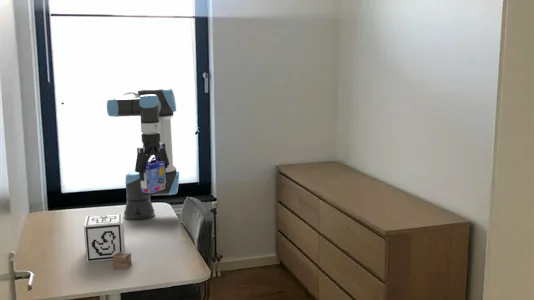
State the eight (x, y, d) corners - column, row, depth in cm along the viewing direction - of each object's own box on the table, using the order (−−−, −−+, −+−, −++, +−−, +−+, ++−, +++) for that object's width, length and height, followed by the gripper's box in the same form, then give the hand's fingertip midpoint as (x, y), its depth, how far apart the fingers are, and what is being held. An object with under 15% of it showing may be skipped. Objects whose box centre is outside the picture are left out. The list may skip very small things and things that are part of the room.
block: (86, 262, 235) (83, 226, 233) (88, 249, 250) (86, 215, 247) (124, 258, 239) (122, 222, 236) (124, 246, 253) (122, 212, 250)
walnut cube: (120, 263, 233) (119, 251, 232) (131, 264, 231) (130, 252, 231) (113, 268, 228) (112, 256, 227) (125, 269, 227) (124, 257, 226)
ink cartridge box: (151, 194, 239) (149, 159, 236) (141, 192, 241) (138, 158, 239) (166, 188, 248) (164, 155, 245) (156, 187, 250) (154, 154, 247)
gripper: (136, 137, 229) (139, 192, 233) (176, 129, 247) (178, 181, 251) (123, 135, 233) (126, 190, 237) (163, 128, 251) (166, 179, 255)
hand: (153, 185), depth 244 cm, fingers closed on ink cartridge box, 10 cm apart
